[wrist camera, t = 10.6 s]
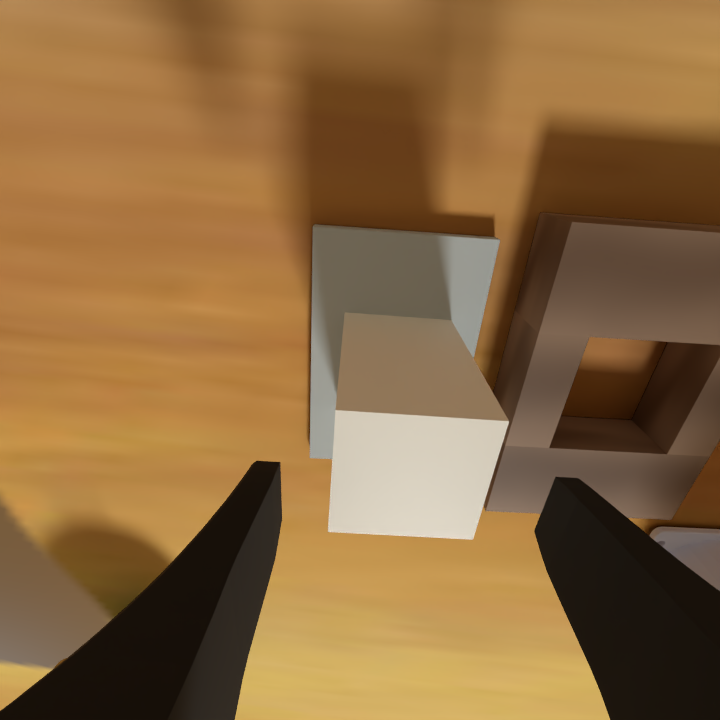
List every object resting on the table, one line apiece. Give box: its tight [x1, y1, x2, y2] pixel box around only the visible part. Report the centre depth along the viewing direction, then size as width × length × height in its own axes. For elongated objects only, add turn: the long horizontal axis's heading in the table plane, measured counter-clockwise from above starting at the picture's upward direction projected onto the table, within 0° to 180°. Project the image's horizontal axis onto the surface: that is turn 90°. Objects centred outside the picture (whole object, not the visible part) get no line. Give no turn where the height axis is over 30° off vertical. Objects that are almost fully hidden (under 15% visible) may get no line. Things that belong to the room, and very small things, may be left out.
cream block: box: [328, 312, 509, 540], centre depth 14 cm, size 4×4×7 cm
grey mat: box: [310, 224, 500, 459], centre depth 17 cm, size 11×7×1 cm, turn 176°
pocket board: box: [484, 213, 720, 520], centre depth 17 cm, size 13×9×2 cm
